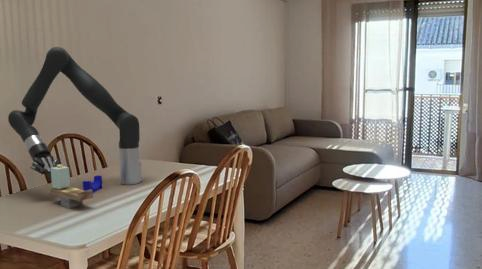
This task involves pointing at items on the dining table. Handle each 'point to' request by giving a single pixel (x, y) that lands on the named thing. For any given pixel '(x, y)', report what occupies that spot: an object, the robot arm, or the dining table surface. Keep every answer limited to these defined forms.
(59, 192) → the beam
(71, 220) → the dining table surface
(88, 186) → the cable clip
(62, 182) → the block
